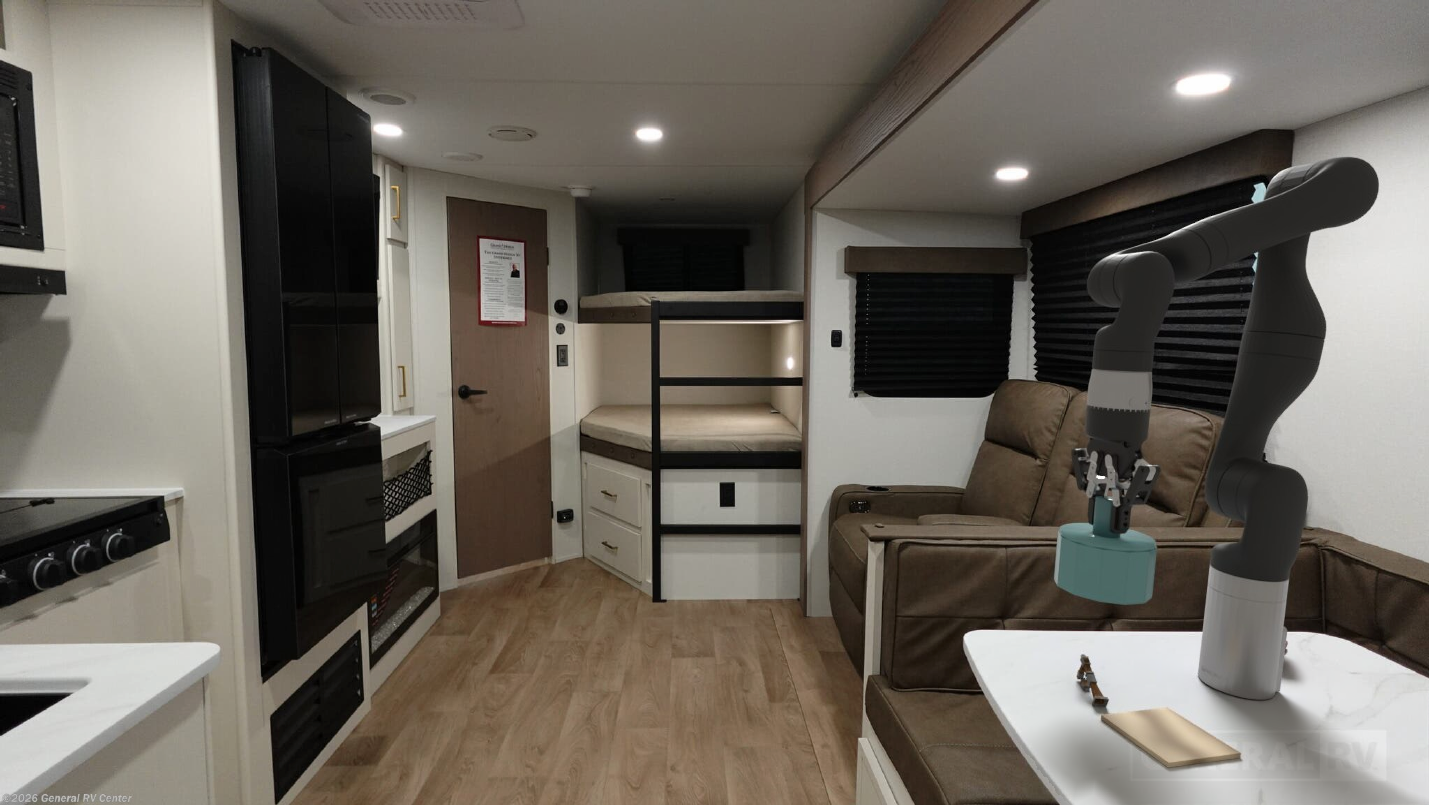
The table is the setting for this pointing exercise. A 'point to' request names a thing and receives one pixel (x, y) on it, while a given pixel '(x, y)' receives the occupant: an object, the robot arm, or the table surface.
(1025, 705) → the table surface
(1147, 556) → the teal lid with knob
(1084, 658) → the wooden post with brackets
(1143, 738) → the board
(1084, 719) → the table surface
